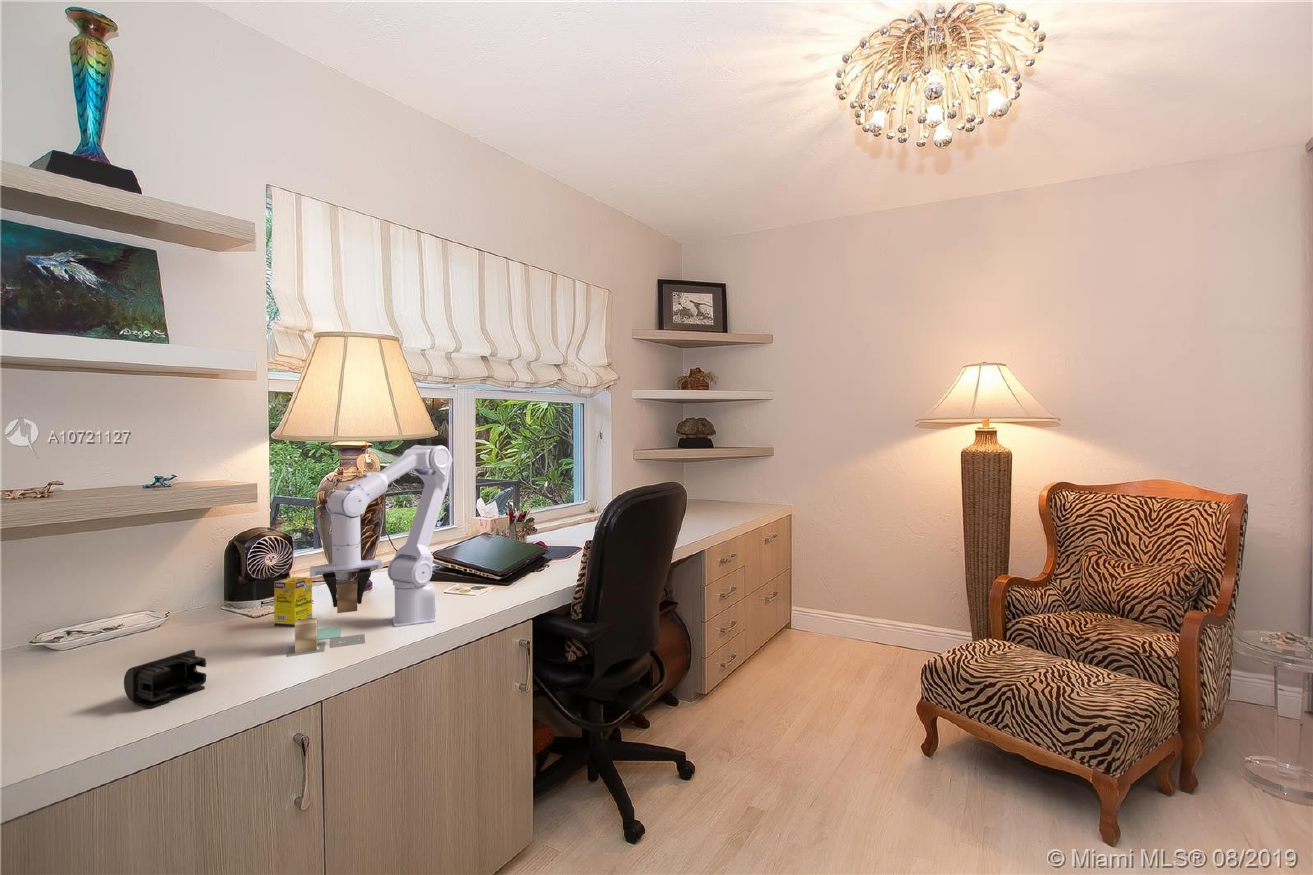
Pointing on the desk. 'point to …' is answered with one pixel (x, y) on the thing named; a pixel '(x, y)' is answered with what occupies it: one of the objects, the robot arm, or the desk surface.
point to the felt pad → (328, 633)
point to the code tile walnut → (347, 640)
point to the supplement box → (292, 600)
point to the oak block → (306, 635)
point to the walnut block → (346, 596)
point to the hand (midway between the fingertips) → (347, 604)
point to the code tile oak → (319, 649)
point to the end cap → (165, 680)
